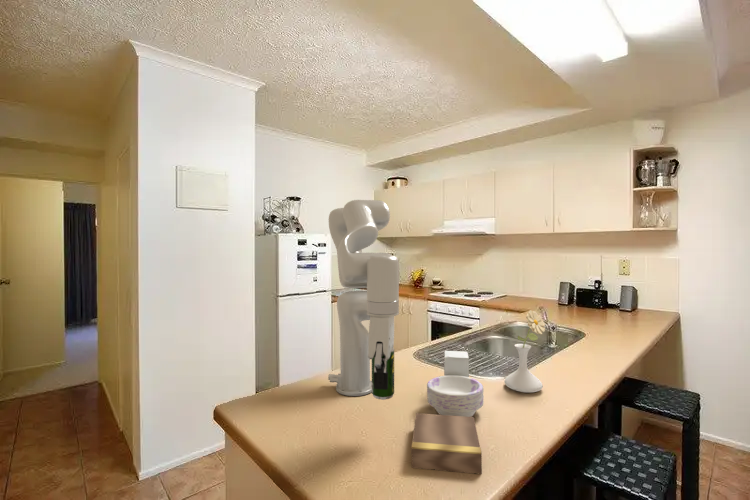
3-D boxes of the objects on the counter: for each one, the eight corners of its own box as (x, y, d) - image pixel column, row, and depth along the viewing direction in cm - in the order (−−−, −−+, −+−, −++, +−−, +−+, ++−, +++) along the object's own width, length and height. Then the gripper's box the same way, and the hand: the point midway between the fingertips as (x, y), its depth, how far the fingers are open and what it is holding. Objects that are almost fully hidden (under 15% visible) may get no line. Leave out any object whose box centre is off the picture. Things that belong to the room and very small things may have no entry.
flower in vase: (517, 397, 108) (517, 314, 108) (497, 383, 119) (496, 308, 119) (555, 393, 111) (555, 312, 111) (532, 380, 122) (531, 306, 122)
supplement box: (469, 400, 107) (469, 358, 106) (444, 398, 108) (443, 356, 108) (468, 390, 114) (467, 351, 114) (444, 389, 115) (444, 350, 115)
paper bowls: (424, 400, 107) (424, 373, 107) (475, 400, 107) (475, 373, 107) (430, 425, 92) (430, 394, 92) (490, 426, 91) (490, 394, 91)
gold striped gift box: (411, 467, 74) (411, 446, 74) (416, 429, 90) (416, 412, 90) (481, 474, 72) (481, 452, 72) (473, 433, 88) (473, 415, 88)
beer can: (374, 401, 82) (374, 349, 82) (369, 391, 87) (369, 342, 87) (397, 398, 83) (397, 347, 83) (390, 389, 89) (390, 341, 88)
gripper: (373, 300, 94) (373, 369, 94) (359, 315, 77) (359, 398, 77) (402, 301, 92) (402, 370, 93) (394, 316, 75) (394, 401, 76)
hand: (382, 382), depth 85 cm, fingers closed on beer can, 5 cm apart
